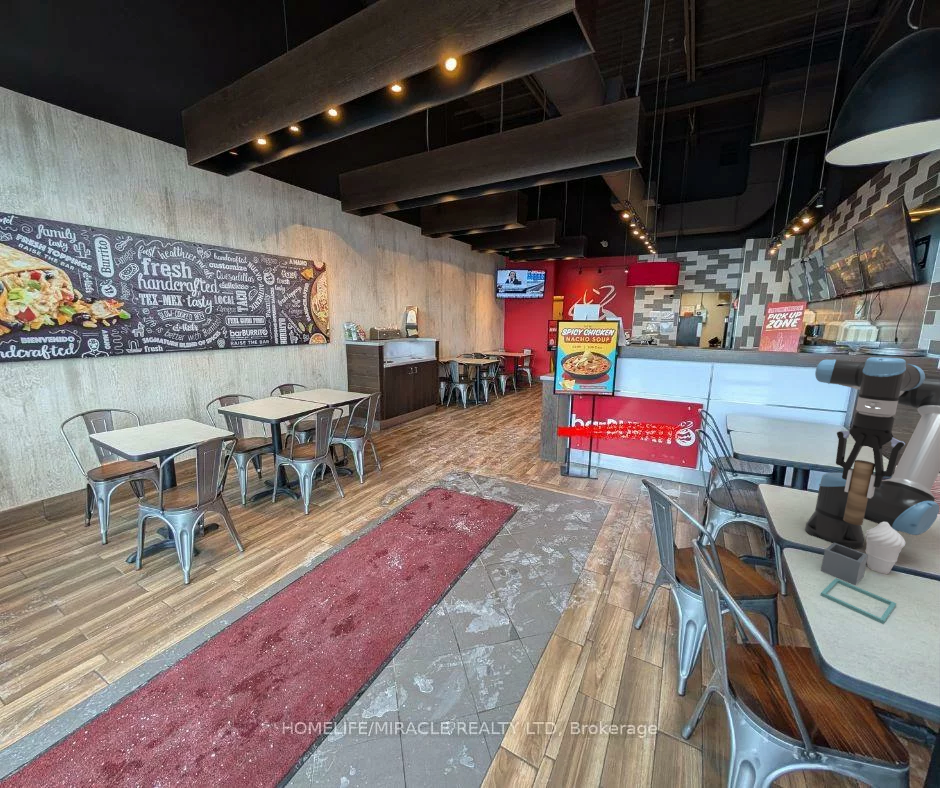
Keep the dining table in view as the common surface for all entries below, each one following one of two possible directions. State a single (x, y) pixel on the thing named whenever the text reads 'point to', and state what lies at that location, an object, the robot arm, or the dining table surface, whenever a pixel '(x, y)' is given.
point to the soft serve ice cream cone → (883, 547)
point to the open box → (844, 563)
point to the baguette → (858, 492)
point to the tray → (878, 619)
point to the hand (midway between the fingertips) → (858, 493)
